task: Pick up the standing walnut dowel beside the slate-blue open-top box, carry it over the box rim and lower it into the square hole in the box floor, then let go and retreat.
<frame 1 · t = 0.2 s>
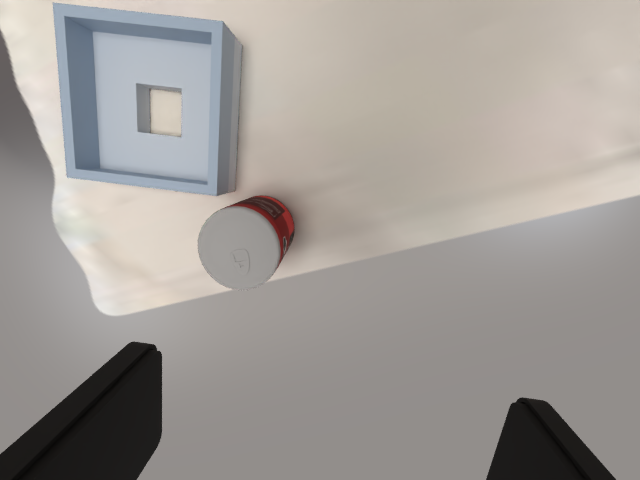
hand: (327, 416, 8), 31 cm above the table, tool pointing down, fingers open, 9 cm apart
slate box: (170, 114, 37), on the table
canned food: (265, 226, 39), on the table
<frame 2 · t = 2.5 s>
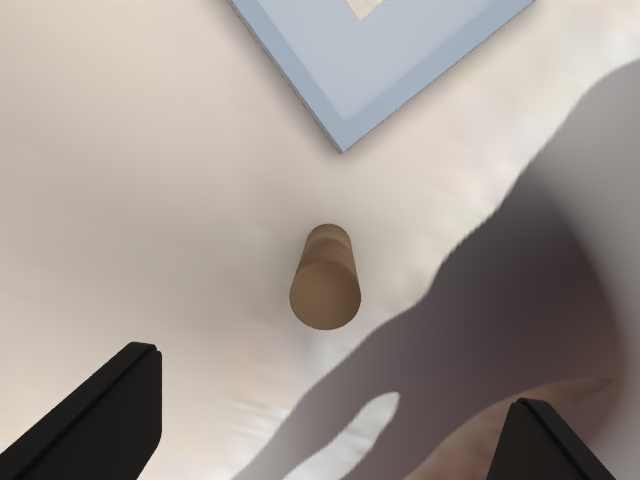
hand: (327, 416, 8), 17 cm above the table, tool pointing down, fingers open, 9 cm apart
walnut peg: (328, 245, 25), on the table
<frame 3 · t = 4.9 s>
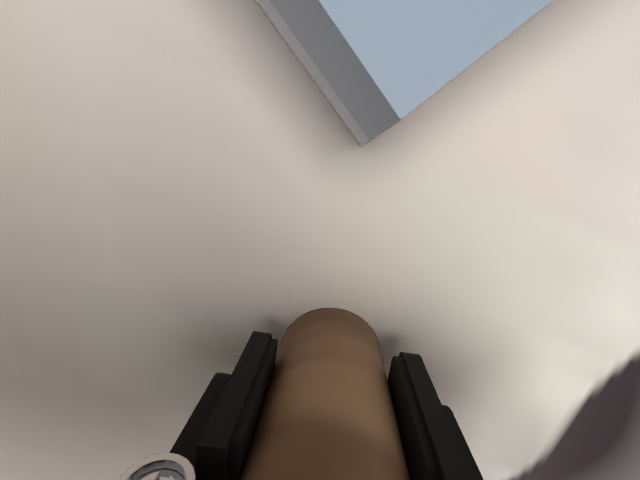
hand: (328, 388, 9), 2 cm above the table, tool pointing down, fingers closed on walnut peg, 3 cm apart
walnut peg: (330, 353, 11), on the table, touching gripper
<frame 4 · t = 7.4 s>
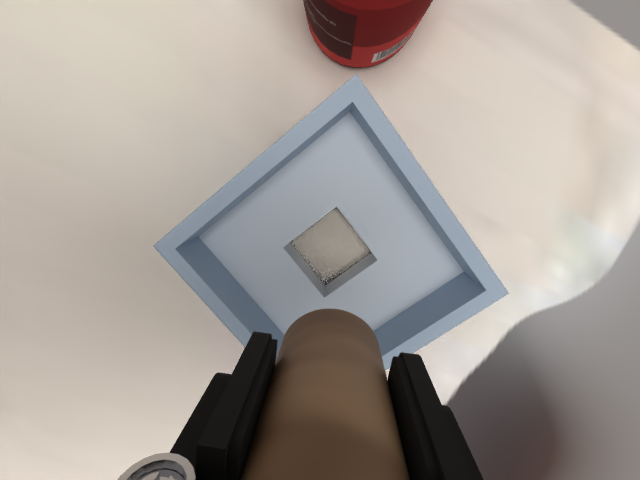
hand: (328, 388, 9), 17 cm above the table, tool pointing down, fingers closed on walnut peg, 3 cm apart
slate box: (330, 245, 26), on the table
walnut peg: (330, 353, 11), point 15 cm above the table, touching gripper
canned food: (362, 9, 22), on the table
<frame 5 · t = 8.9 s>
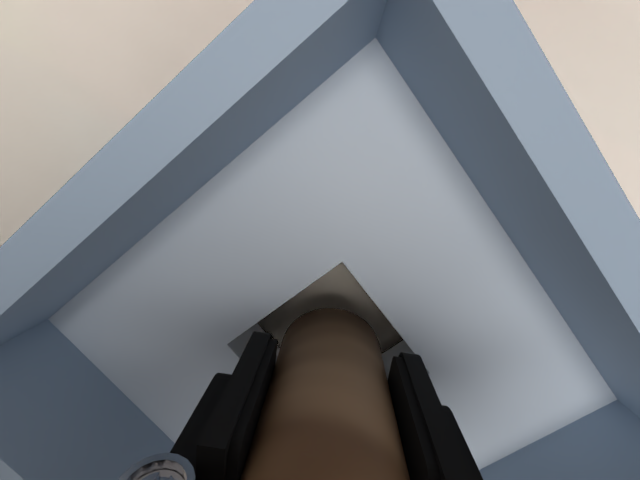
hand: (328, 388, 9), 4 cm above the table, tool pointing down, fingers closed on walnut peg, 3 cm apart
slate box: (329, 322, 13), on the table
walnut peg: (330, 353, 11), point 2 cm above the table, touching gripper
when the fingers open (4 cm above the table, at t = 9.8 s): walnut peg drops 2 cm, resting in slate box.
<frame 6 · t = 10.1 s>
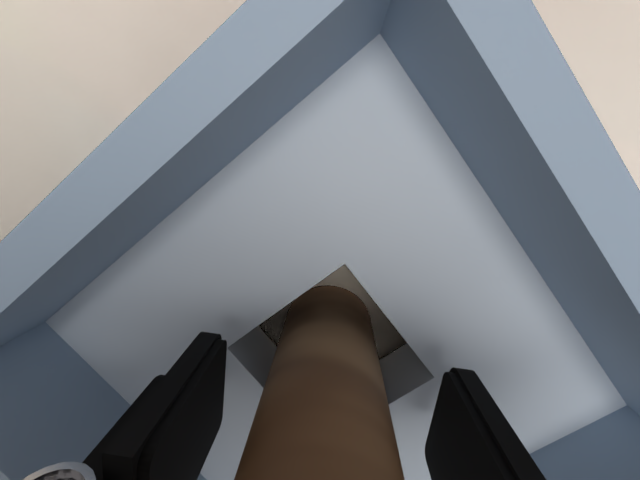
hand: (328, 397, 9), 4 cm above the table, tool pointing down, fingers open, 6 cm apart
slate box: (331, 325, 13), on the table
walnut peg: (328, 325, 13), resting in slate box
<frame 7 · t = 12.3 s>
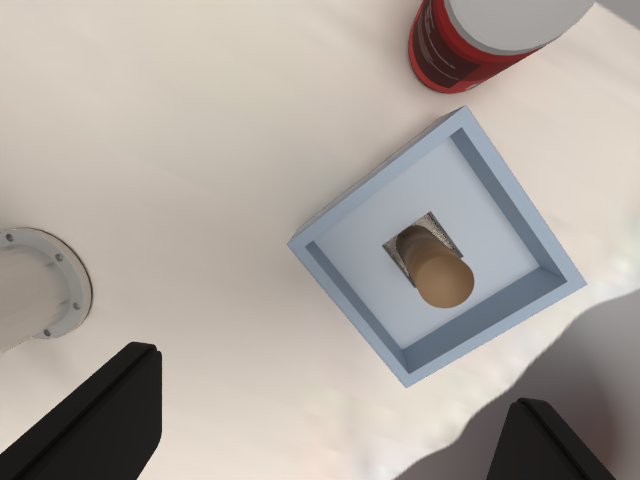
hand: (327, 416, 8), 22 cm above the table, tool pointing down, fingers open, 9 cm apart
slate box: (416, 243, 30), on the table
walnut peg: (415, 243, 30), resting in slate box
canned food: (454, 43, 26), on the table
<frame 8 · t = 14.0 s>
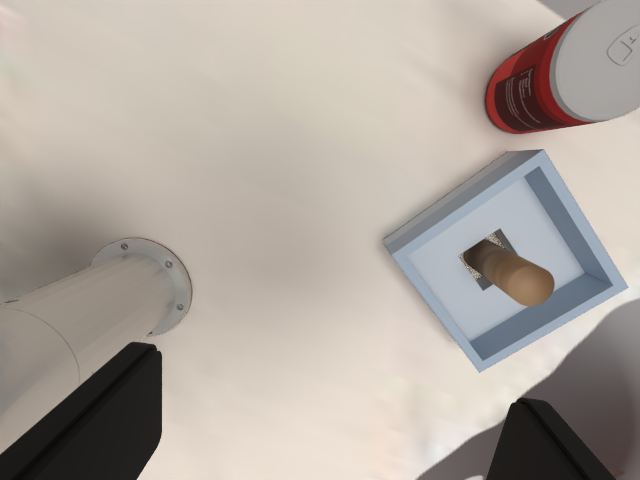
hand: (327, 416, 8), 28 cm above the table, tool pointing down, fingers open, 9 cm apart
slate box: (480, 253, 36), on the table
walnut peg: (479, 253, 36), resting in slate box
canned food: (521, 94, 32), on the table
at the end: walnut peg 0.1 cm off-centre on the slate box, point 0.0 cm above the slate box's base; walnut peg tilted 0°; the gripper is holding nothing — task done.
